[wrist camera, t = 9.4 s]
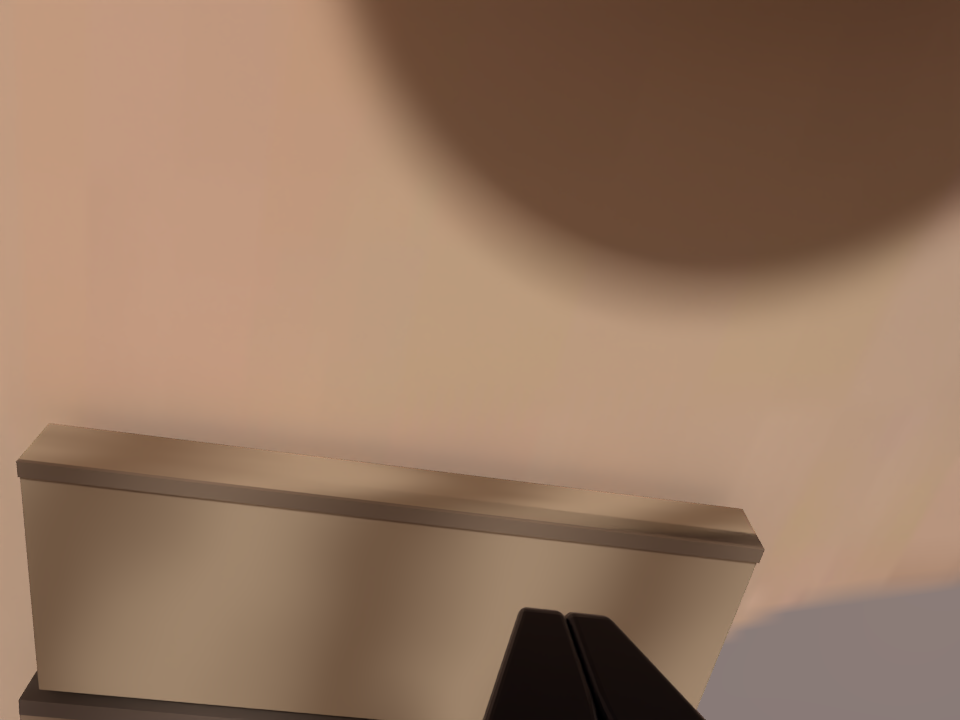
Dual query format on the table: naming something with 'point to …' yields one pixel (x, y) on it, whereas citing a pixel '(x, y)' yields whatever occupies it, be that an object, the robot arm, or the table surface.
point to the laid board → (139, 708)
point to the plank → (345, 575)
